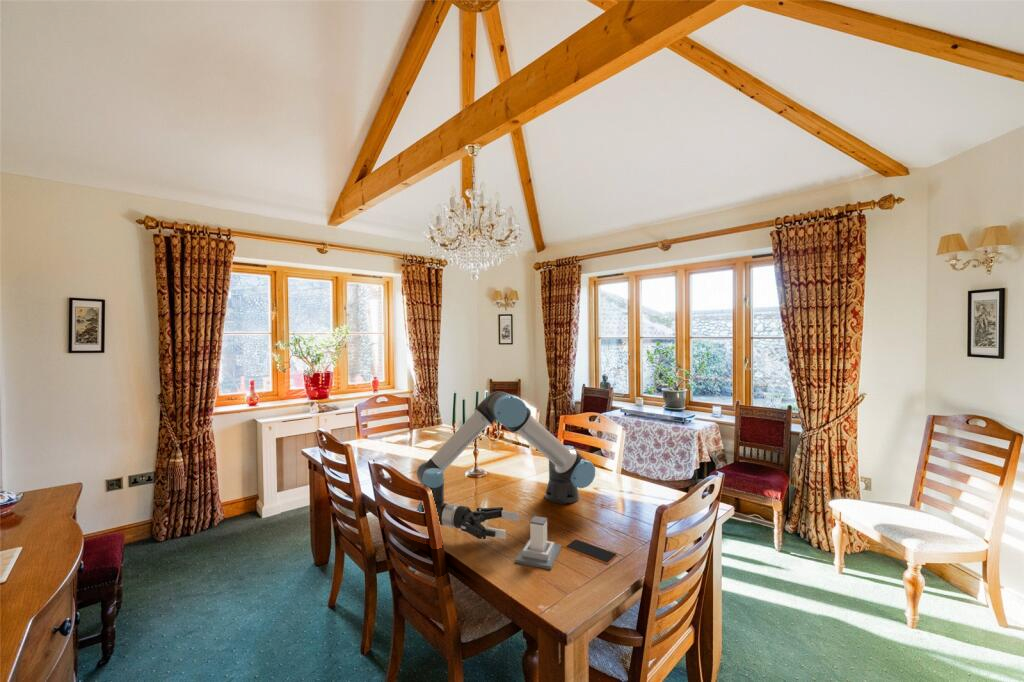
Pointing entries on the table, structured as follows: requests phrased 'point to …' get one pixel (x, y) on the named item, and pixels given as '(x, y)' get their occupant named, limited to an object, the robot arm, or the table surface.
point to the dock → (539, 555)
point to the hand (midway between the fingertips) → (512, 525)
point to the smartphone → (591, 551)
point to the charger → (538, 534)
